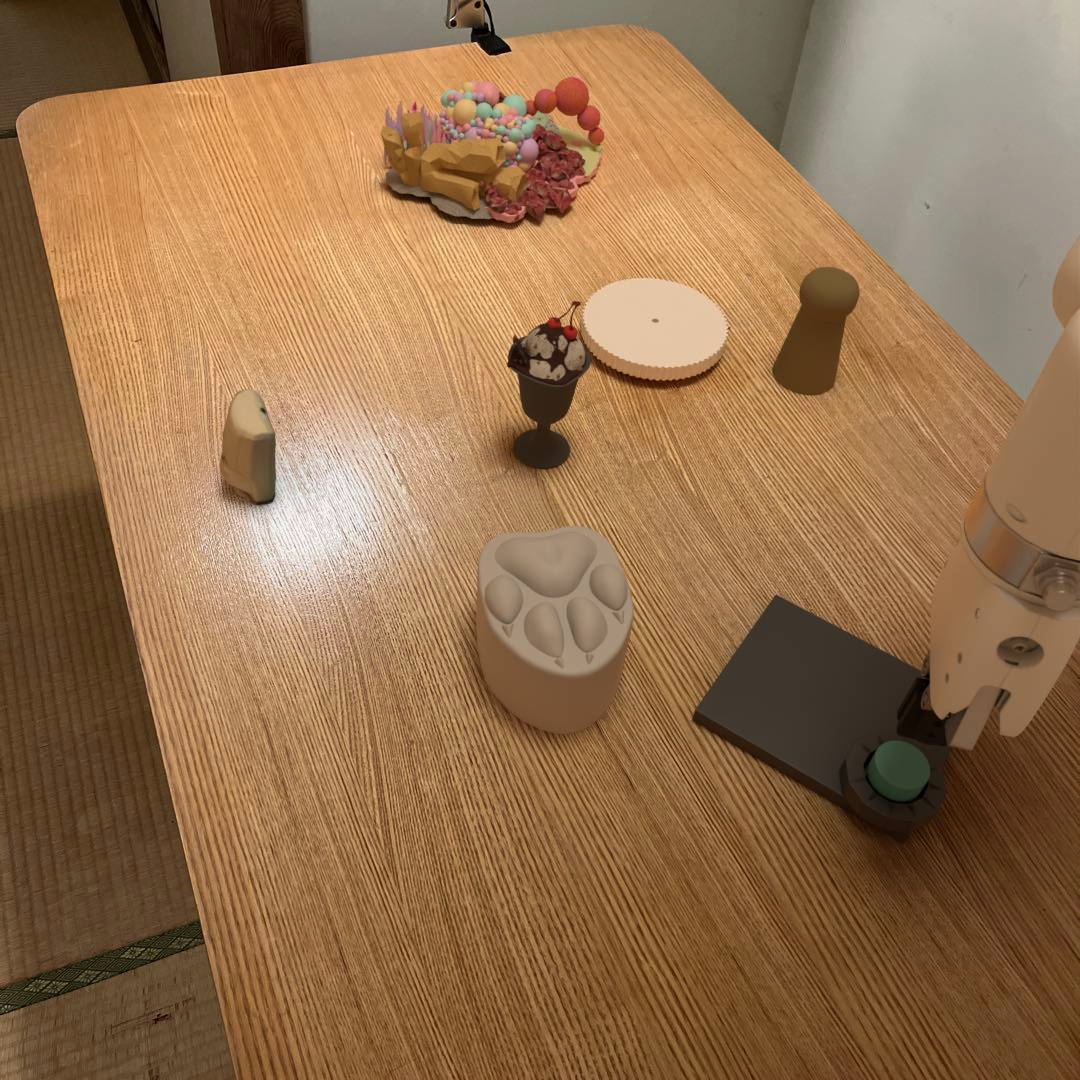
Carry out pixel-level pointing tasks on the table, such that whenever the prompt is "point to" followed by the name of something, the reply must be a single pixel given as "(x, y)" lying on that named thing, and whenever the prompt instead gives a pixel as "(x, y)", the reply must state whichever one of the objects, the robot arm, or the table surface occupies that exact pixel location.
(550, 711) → the lumpy-topped squat cylinder
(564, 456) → the sundae
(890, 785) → the scale button
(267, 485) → the tan tall rounded block
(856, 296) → the brown game pawn
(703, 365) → the plastic lid
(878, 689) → the scale
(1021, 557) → the robot arm
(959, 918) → the table surface
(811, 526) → the table surface
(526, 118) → the candy landscape model
